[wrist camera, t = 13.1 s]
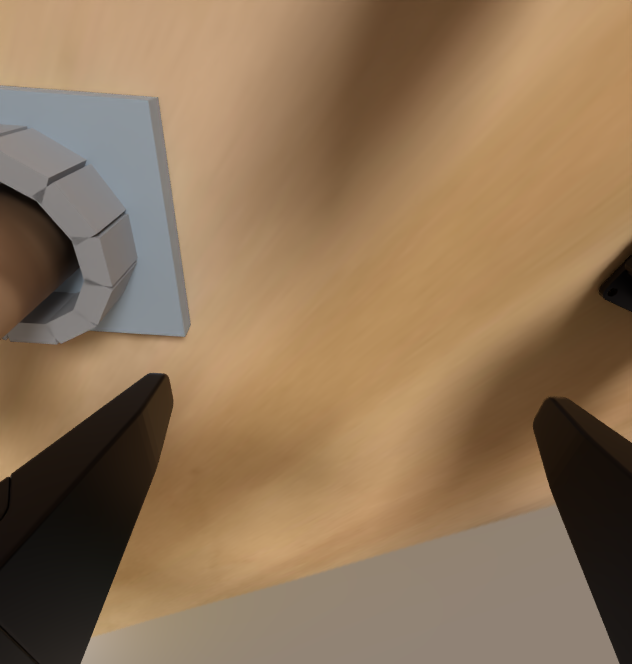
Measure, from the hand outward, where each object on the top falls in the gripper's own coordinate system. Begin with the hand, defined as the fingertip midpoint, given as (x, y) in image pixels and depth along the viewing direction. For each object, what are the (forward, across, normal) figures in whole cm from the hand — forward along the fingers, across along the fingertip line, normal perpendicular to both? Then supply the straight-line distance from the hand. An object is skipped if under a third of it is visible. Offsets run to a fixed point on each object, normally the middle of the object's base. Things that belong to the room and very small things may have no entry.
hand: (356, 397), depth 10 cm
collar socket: (+13, +15, +2) cm, 20 cm away
